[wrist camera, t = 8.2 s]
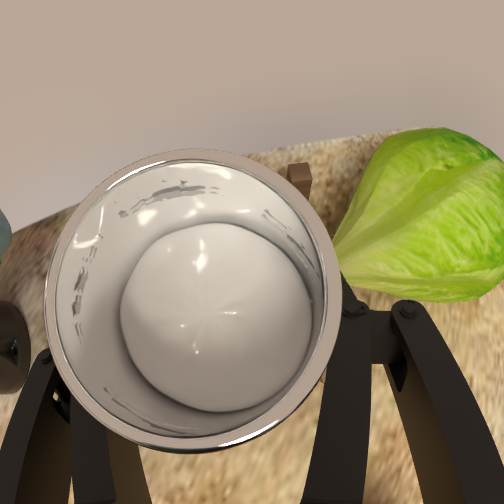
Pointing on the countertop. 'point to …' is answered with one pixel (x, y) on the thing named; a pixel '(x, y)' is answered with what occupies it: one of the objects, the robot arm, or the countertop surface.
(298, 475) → the countertop surface
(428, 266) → the lettuce
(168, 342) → the beer glass
